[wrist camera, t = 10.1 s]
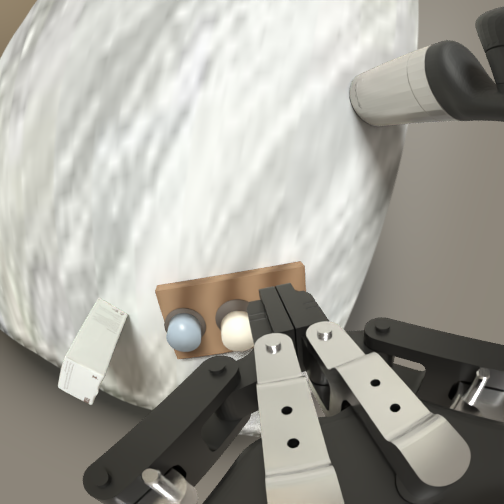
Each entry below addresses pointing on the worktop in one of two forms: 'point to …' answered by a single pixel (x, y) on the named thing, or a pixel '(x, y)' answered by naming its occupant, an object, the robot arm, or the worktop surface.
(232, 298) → the board
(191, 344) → the button slate
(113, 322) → the skincare box
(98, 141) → the worktop surface
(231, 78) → the worktop surface
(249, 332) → the button cream
